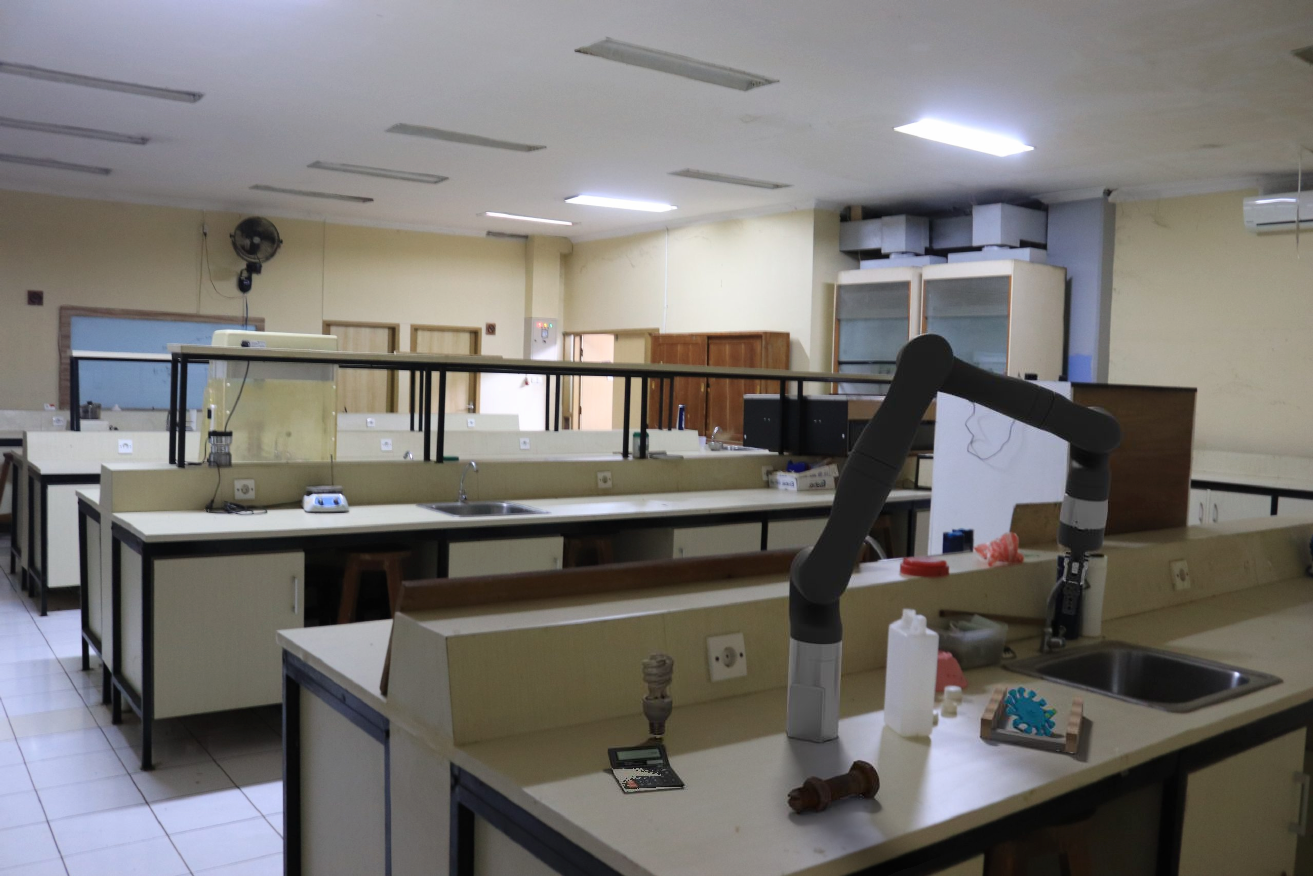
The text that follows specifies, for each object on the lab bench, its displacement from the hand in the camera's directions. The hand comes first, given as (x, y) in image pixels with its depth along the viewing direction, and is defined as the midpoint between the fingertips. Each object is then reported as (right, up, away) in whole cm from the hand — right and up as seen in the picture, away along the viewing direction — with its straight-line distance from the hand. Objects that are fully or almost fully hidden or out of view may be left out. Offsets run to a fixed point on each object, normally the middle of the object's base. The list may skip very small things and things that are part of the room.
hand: (1069, 605), depth 177 cm
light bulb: (-75, -22, -7) cm, 79 cm away
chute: (-4, -24, +7) cm, 25 cm away
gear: (-6, -24, +3) cm, 25 cm away
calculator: (-77, -23, -24) cm, 84 cm away
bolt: (-49, -24, -32) cm, 63 cm away
